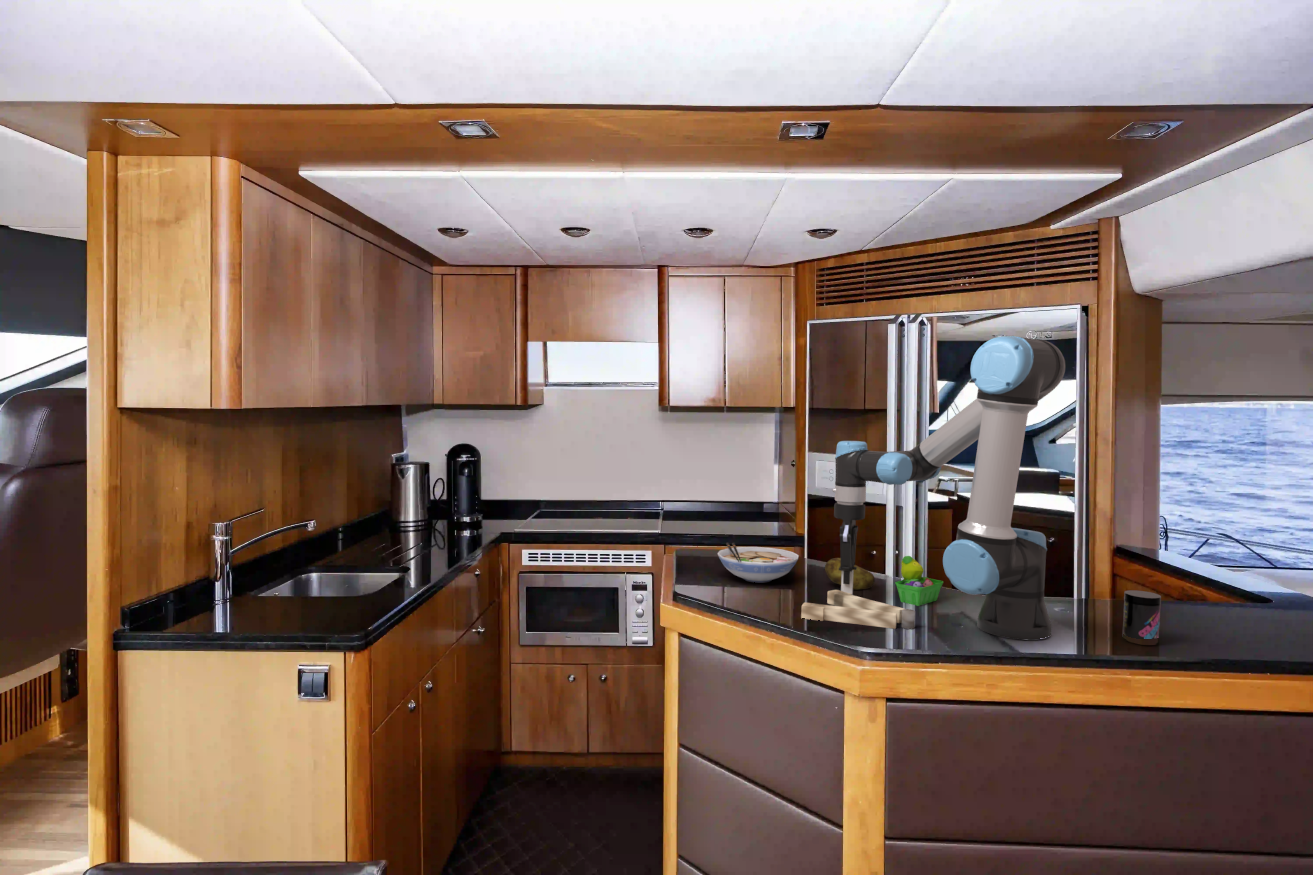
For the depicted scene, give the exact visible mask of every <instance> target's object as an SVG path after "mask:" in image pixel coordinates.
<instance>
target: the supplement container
mask: <svg viewBox="0 0 1313 875" xmlns="http://www.w3.org/2000/svg"><path fill="white" fill-rule="evenodd" d="M1123 592H1124V594H1123V595H1124V596H1123V601H1124V602H1123V616H1122V618H1123V619H1122V620H1123V622H1122V635H1123V634H1124V635H1125V636H1128V637H1131V638H1136V639H1157V638H1160V622H1161V621H1160V620H1161V619H1160V618H1161V605H1162V595H1160V594H1158V593H1154V592H1150V591H1146V590H1145V591H1143V590H1133V589H1132V590H1124V591H1123Z"/></svg>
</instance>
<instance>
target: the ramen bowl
mask: <svg viewBox="0 0 1313 875" xmlns="http://www.w3.org/2000/svg"><path fill="white" fill-rule="evenodd" d="M725 545H726V547H727V548H724V549H720V550H719V551H718V552H717V556H718V558H719V560H720V562H721V563H722V565H723V567H724V568H726V570H728V571H729V572H730V573H731V574H733V575H734V576H737V577H738V578H741V579H743V580H745V581H746V582H750V583H754V582H755V583H757V584H758V583H759V584H760V583H761V584H763V583H770V582H771V581H772V580H776V579H779V578H782V577H784V576H786V575H787V574H788V573H790V572H791V571H792V569H793V567H794V566H795V565H796V564H797V562H798V560H799V556H800V555H799V554H797V553H795V552H793V551H790V550H787V549H782V548H774V547H763V546H762V547H761V546H736V543H735V542H732V543H731V545H730V543H729V542H726V544H725ZM731 546H732V547H731ZM755 583H754V584H755Z"/></svg>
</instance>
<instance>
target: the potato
mask: <svg viewBox="0 0 1313 875" xmlns="http://www.w3.org/2000/svg"><path fill="white" fill-rule="evenodd" d="M840 566H841V558H840V557H835V558H830V559H829V560H828V561H826V563H825V564H824V570H825V573H826V576H827V578H828V579H829V580H830V581H831V582H833V583H835V584H838V585H840V586H841V576H842V571H841V570H839V567H840ZM854 567H857V569H856V570H854V571H853V591H854V590H866V589H867V590H868V589H870V588H871V587H873V586H874V584H875V581H876V580H875V575H874V574H873V573H872V572H871V571H868V570H867V569H864V568H863V567H860V566H858V565H856V564H855V565H854Z"/></svg>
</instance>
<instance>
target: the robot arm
mask: <svg viewBox="0 0 1313 875" xmlns="http://www.w3.org/2000/svg"><path fill="white" fill-rule="evenodd" d="M1065 372H1066V360H1065V357H1064V355H1063V353H1062V352H1061V350H1060V349H1059V348H1058V346H1056V345H1055V344H1053V343H1052V342H1051V341H1050V342H1049V341H1047V340H1044V339H1038V338H1029V337H1028V338H1027V337H1023V336H1021V337H1020V336H1015V335H1012V336H1010V335H1009V336H1007V335H1006V336H997V337H993V338H991V339H989V340H987V341H986V342H984V343H983V344H982V345H981V346H979V348H978V349H977V350H976V352H974V355H973V357H972V359H971V362H970V377H971V380H972V381H973V382H974V385H975V386H976V387H977V394H976V398H975V399H974V400H973V401H972V402H970V403H969V404H968V405H966V406H965V407H964V408H963V409H961V410H960V411H958V413H956V414H955V415H954V416H952V418H950V419H948V421H946V422H945V423H944V424H942V425H941V426H940V427H939V428H937V429H936V430H935V431H934V432H932V433H931V434H930V435H929V436H927V437H926V438H924V439H923V440H922V441H921V442H920V443H918V444H917V445H916V446H915V447H913V448H912V449H910V450H900V451H899V450H898V451H897V450H896V451H894V450H893V451H878V450H877V451H875V450H870V449H869V448H868V443H867V442H866V441H859V440H841V441H838V442H837V444H836V450H835V458H834V459H835V480H834V488H832V492H833V493H834V500H835V503H834V505H833V506H834V507H833V508H834V510H833V517H834V518H836V519H838V520H842V524H841V525H840V526H839V543H840V545H839V546H840V548H839V550H840V556H839V558H841V566H840V567H839V570H841V571H842V576H841V585H840V591H843V592H847V593H851V594H852V595H854V590H853V571H854V570H856V569H857V567H854V565H856V551H857V537H858V531H859V525H856V522H857V521H861V520H864V519H865V518H866V504H864V503H866V501H867V485H866V484H867V482H871V483H880V484H886V485H888V486H890V485H891V486H892V485H894V486H896V485H897V486H898V485H904V484H906V483H907V482H916V481H918V482H926V481H928V480H931V479H932V480H933V479H934V478H936V477H937V476H939V473H940V472H941V470H942V467H943V466H944V465H946V463H949V461H951V460H952V459H953V458H955V457H956V456H958V455H959V454H961V452H963V451H964V450H965V449H967V448H969V447H970V446H971V445H972V444H974V443H975V442H976V441H977V447H976V449H977V450H976V455H975V462H974V468H973V476H972V483H971V489H970V494H969V495H970V496H969V501H968V502H969V503H968V509H967V515H966V519H965V520H963V521H962V522H960V523H959V524H958V526H957V532H956V538H955V540H954V541H952V542H951V543H950V544H949V545H948V546H947V547H946V549H945V550H944V552H943V555H942V556H943V557H942V565H943V569H944V571H943V572H944V573H945V575H946V577H947V578H948V579H949V581H950V584H952V585H953V586H954V587H955V588H956V589H958V590H959V591H961V592H963V593H966V594H968V595H985V598H984V599H983V601H982V602H983V603H982V605H981V607H980V609H979V613H978V614H977V623H976V626H977V628H978V629H979V630H980V631H983V632H985V633H987V634H990V635H993V636H996V637H1001V638H1005V639H1006V638H1007V639H1012V638H1014V639H1013V640H1020V639H1040V638H1045V637H1048V636H1050V635H1051V636H1052V630H1053V629H1052V628H1053V627H1052V626H1053V625H1052V621H1051V619H1050V616H1049V613H1048V609H1047V608H1048V607H1047V605H1046V603H1045V582H1046V566H1047V565H1046V563H1047V561H1046V559H1047V551H1048V548H1047V547H1048V546H1047V537H1046V536H1045V534H1044V533H1043V532H1040V531H1037V530H1036V531H1035V530H1029V529H1022V528H1017V527H1012V526H1011V524H1012V518H1013V511H1014V504H1015V499H1016V492H1017V485H1018V480H1019V474H1020V473H1019V472H1020V466H1021V459H1022V453H1023V450H1024V449H1023V448H1024V442H1025V441H1024V440H1025V435H1026V428H1027V422H1028V417H1029V413H1030V412H1031V411H1033V410H1034V409H1035V408H1037V407H1038V406H1039V405H1038V404H1039V401H1041V400H1042V399H1044V398H1045V397H1046V396H1047V395H1049V394H1050V393H1051V392H1052V391H1054V390H1055V389H1056V388H1057V387H1058V386H1059V385H1060V383H1061V382H1062V380H1063V379H1064V376H1065ZM1051 636H1050V637H1051Z"/></svg>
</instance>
